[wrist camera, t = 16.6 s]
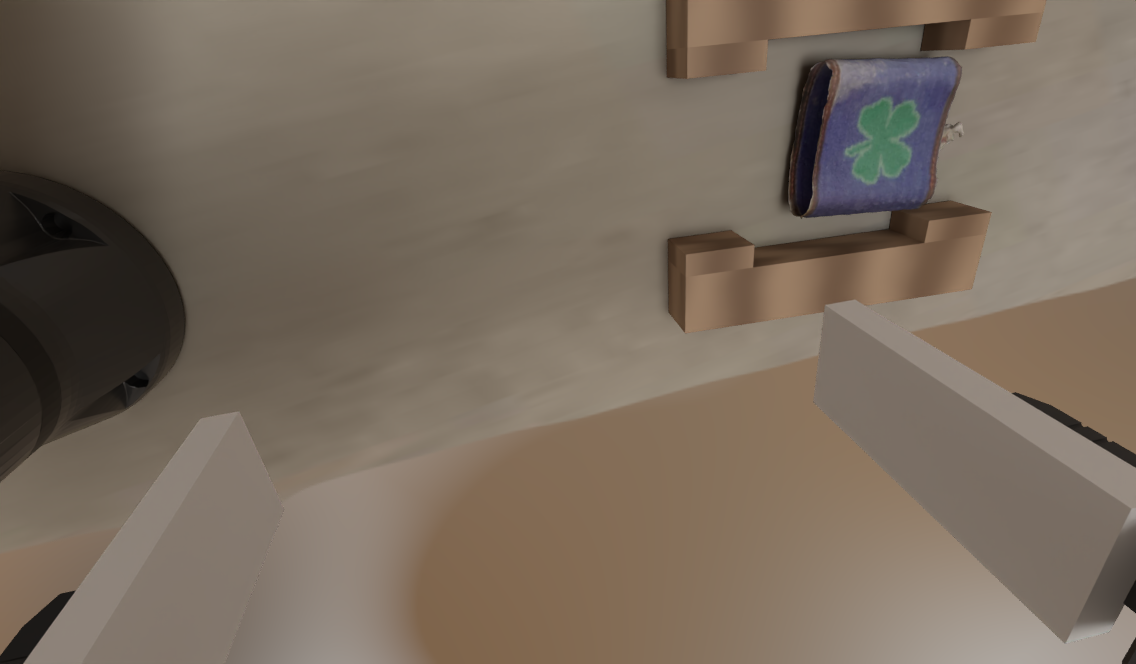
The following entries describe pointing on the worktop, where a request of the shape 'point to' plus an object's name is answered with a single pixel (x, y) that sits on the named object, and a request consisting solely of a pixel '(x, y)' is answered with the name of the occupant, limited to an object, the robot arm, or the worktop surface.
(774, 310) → the holder
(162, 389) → the worktop surface
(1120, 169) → the worktop surface
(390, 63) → the worktop surface
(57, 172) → the worktop surface
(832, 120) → the flask
